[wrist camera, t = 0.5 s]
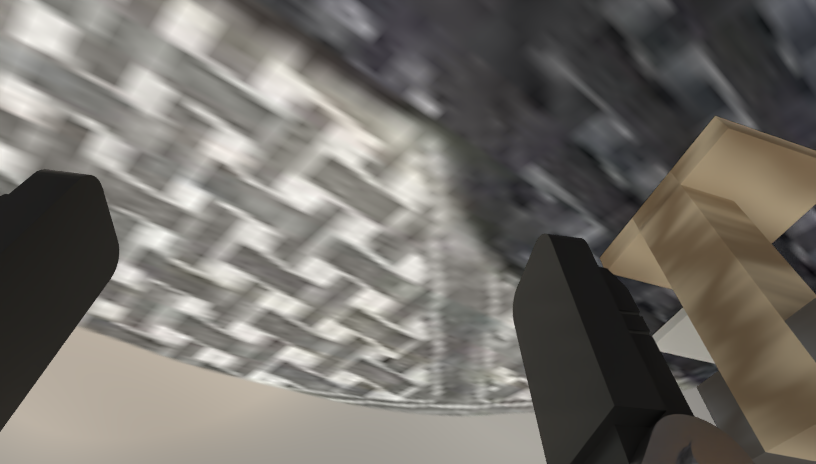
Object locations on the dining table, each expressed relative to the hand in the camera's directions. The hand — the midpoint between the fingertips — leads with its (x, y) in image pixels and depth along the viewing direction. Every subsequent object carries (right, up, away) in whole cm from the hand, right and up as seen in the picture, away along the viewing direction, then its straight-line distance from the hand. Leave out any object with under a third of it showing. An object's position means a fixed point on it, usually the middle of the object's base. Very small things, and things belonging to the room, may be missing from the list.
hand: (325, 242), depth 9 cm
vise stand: (+26, 0, +24) cm, 35 cm away
